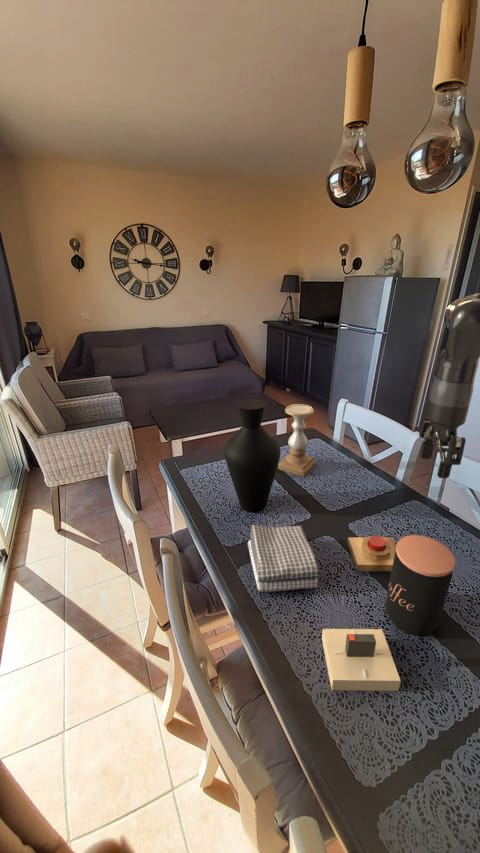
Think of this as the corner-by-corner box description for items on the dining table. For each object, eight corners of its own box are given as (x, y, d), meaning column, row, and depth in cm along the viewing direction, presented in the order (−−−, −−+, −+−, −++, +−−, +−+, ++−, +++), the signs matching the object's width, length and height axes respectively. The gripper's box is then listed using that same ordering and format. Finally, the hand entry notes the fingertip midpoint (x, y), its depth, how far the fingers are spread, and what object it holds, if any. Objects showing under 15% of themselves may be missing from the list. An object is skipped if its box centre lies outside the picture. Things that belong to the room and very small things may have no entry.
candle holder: (277, 469, 137) (278, 410, 128) (290, 457, 146) (292, 401, 136) (303, 477, 132) (306, 416, 122) (316, 464, 140) (319, 406, 130)
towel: (257, 598, 84) (257, 573, 81) (246, 543, 101) (246, 521, 98) (320, 590, 86) (322, 566, 83) (299, 538, 102) (300, 515, 99)
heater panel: (380, 638, 74) (382, 628, 73) (398, 691, 65) (400, 680, 64) (321, 638, 75) (322, 628, 74) (331, 690, 66) (332, 679, 64)
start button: (381, 540, 95) (382, 535, 95) (386, 551, 92) (387, 546, 91) (366, 540, 96) (367, 535, 95) (371, 551, 92) (371, 546, 91)
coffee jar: (377, 595, 84) (388, 534, 77) (424, 595, 84) (439, 534, 76) (394, 638, 74) (408, 573, 67) (447, 639, 74) (467, 574, 67)
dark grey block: (371, 648, 69) (373, 633, 68) (373, 657, 68) (376, 641, 66) (344, 648, 70) (347, 633, 68) (346, 656, 68) (349, 641, 66)
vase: (240, 528, 107) (235, 419, 93) (219, 497, 121) (212, 400, 107) (289, 512, 113) (293, 408, 99) (264, 485, 128) (264, 391, 113)
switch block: (391, 543, 100) (393, 531, 98) (405, 571, 90) (407, 559, 89) (347, 543, 100) (348, 532, 98) (356, 571, 91) (358, 559, 89)
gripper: (488, 412, 68) (467, 484, 75) (450, 388, 81) (436, 452, 88) (447, 412, 68) (430, 484, 75) (416, 388, 81) (404, 452, 88)
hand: (433, 467), depth 81 cm, fingers open, 8 cm apart
